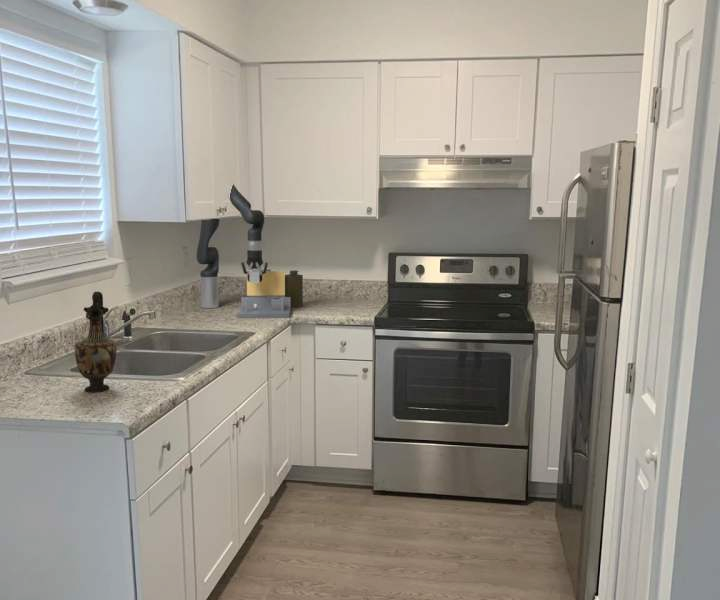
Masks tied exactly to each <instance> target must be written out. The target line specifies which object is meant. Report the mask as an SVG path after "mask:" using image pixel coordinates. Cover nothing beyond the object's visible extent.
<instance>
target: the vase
mask: <svg viewBox="0 0 720 600" xmlns="http://www.w3.org/2000/svg"><path fill="white" fill-rule="evenodd" d="M91 298H92V305H90V306H88V307H87V306H85V307H84V308H83V311H84V312H85V318H86V319H87V320H89V328H88V334H87V337H86V338H85V339H82V340H80V341H78V342H77V343H76V344H75V348H74V355H75V363H76V366H77V370H78V371H79V373H80V375H82V377H84V378H85V379H86V380H87V381H89V385H88V386H86V387H84V392H86V393H102V392H106V391H108V390H109V389H110V385H108V384H105V383H104V381H105V379H106V378H107V377H109V376H110V375H111V373H112V371H113V370H114V367H115V365H116V360H117V352H118V351H117V343H116V342H115V341H114V340H112V339H111V338H107V337H106V334H105V330H104V329H105V327H104V324H105V323H104V315H106V313H108V312H109V308H108V307H104V295H103V293H102V292H101V291H94V292H93V293H92V297H91Z"/></svg>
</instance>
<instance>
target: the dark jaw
mask: <svg viewBox="0 0 720 600" xmlns="http://www.w3.org/2000/svg"><path fill="white" fill-rule="evenodd" d="M271 303H272V311H276V310H281V298H272V299H271Z"/></svg>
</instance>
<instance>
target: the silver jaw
mask: <svg viewBox="0 0 720 600" xmlns="http://www.w3.org/2000/svg"><path fill="white" fill-rule="evenodd" d="M249 273H250V283H260V271H258V270H257V269H251V271H250V272H249Z"/></svg>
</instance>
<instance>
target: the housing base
mask: <svg viewBox="0 0 720 600" xmlns="http://www.w3.org/2000/svg"><path fill="white" fill-rule="evenodd" d="M272 298H281V310H276V311H272V303H271V299H272ZM240 300H241V307H240V310H239V311H238V312H237V314H236V318H237V319H289V318H290V315H291V308H292V307H291V297H285V296H245V297H244V296H241V298H240Z"/></svg>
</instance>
